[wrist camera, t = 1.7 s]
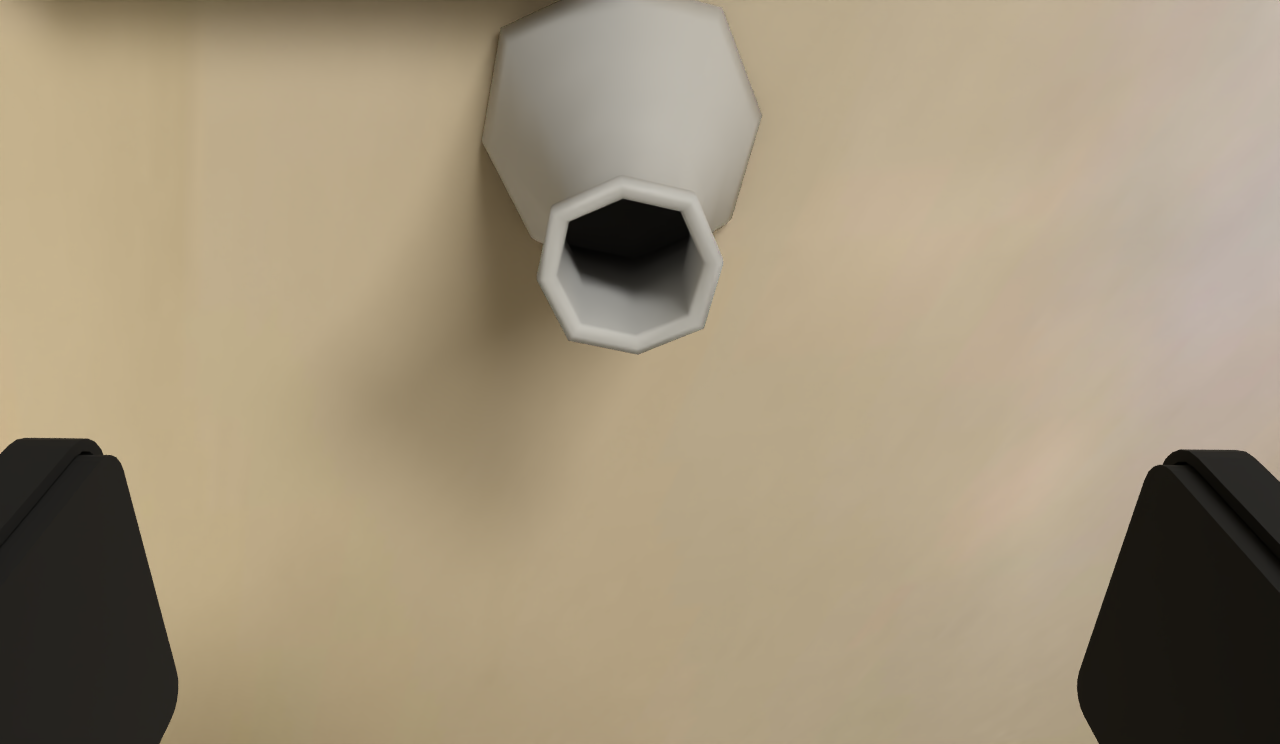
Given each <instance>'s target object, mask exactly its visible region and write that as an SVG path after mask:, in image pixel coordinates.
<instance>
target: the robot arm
mask: <svg viewBox="0 0 1280 744" xmlns="http://www.w3.org/2000/svg"><path fill="white" fill-rule="evenodd" d="M1077 692H1078V699H1079V703H1080V707H1081V710H1082V712H1083V715H1084V717H1085V719H1086V720H1087V722H1088V724H1089V726H1090V728H1091V730H1092V732H1093V733H1094V735H1095V737H1096V739H1097V741H1098V743H1099V744H1280V482H1279V481H1278V480H1277V479H1276V478H1275V477H1274V476H1273V475H1272V474H1271V473H1270V472H1269V471H1268V470H1267V469H1266V468H1265V467H1264V466H1263V465H1262V464H1261V463H1260V462H1258V461H1257V460H1256V459H1255V458H1254V457H1253V456H1251V455H1250V454H1248V453H1247V452H1244V451H1238V450H1178V451H1175V452H1172V453H1171V454H1170V455H1169V456H1168V457H1167V458H1166V459H1165V461H1164V463H1163V465H1157V466H1155V467H1153V468H1152V469H1151V470H1150V471H1149V472H1148V474H1147V476H1146V478H1145V480H1144V483H1143V486H1142V489H1141V492H1140V495H1139V498H1138V501H1137V504H1136V506H1135V509H1134V512H1133V515H1132V518H1131V521H1130V524H1129V527H1128V530H1127V533H1126V536H1125V539H1124V542H1123V545H1122V548H1121V550H1120V553H1119V556H1118V559H1117V562H1116V565H1115V568H1114V571H1113V574H1112V577H1111V580H1110V583H1109V586H1108V589H1107V592H1106V595H1105V597H1104V600H1103V603H1102V606H1101V609H1100V612H1099V615H1098V618H1097V621H1096V624H1095V627H1094V630H1093V633H1092V636H1091V639H1090V641H1089V644H1088V647H1087V650H1086V653H1085V656H1084V659H1083V662H1082V665H1081V668H1080V671H1079V675H1078V680H1077ZM177 696H178V676H177V671H176V667H175V663H174V660H173V656H172V652H171V648H170V644H169V641H168V637H167V633H166V629H165V625H164V622H163V618H162V614H161V610H160V607H159V603H158V599H157V595H156V591H155V588H154V584H153V580H152V576H151V572H150V569H149V565H148V561H147V557H146V553H145V550H144V546H143V542H142V538H141V535H140V531H139V527H138V523H137V519H136V516H135V512H134V508H133V504H132V500H131V497H130V493H129V489H128V485H127V482H126V478H125V474H124V470H123V468H122V465H121V463H120V462H119V460H118V459H117V458H116V457H114V456H112V455H103V453H102V450H101V448H100V447H99V446H98V445H97V444H96V442H94V441H92V440H90V439H74V438H23V439H17V440H16V441H14V442H13V443H11V444H10V445H9V446H8V447H7V448H6V449H5V450H4V451H3V452H2V453H1V454H0V744H159V743H160V741H161V739H162V737H163V735H164V733H165V731H166V729H167V727H168V725H169V722H170V720H171V718H172V716H173V713H174V710H175V706H176V702H177Z"/></svg>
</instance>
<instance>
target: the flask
mask: <svg viewBox="0 0 1280 744" xmlns="http://www.w3.org/2000/svg"><path fill="white" fill-rule="evenodd" d="M761 118H762V114H761V111H760V108H759V106H758V103H757V100H756V97H755V95H754V92H753V89H752V87H751V84H750V81H749V79H748V76H747V73H746V70H745V68H744V65H743V62H742V60H741V57H740V54H739V51H738V49H737V46H736V43H735V41H734V38H733V35H732V32H731V30H730V27H729V24H728V22H727V19H726V16H725V14H724V11H723V8H722V7H719V6H715V5H711V4H707V3H703V2H699V1H695V0H560V1H558V2H556V3H554V4H551V5H549V6H547V7H545V8H543V9H541V10H539V11H536V12H534V13H532V14H530V15H528V16H526V17H524V18H521V19H519V20H517V21H515V22H513V23H511V24H509V25H506V26H504V27H502V28H501V30H500V36H499V42H498V48H497V53H496V59H495V65H494V71H493V77H492V83H491V89H490V95H489V101H488V107H487V113H486V119H485V125H484V131H483V137H482V143H483V145H484V147H485V149H486V151H487V153H488V155H489V156H490V158H491V160H492V162H493V164H494V166H495V168H496V170H497V172H498V174H499V176H500V178H501V180H502V182H503V184H504V186H505V188H506V190H507V192H508V194H509V195H510V197H511V199H512V201H513V203H514V205H515V207H516V209H517V211H518V213H519V215H520V217H521V219H522V221H523V223H524V225H525V227H526V229H527V231H528V233H529V234H530V236H531V238H533V239H534V240H536V241H538V242H540V243H542V244H543V248H542V253H541V258H540V262H539V267H538V272H537V281H538V283H539V285H540V287H541V289H542V291H543V293H544V295H545V297H546V298H547V300H548V302H549V304H550V306H551V308H552V310H553V312H554V314H555V316H556V318H557V320H558V321H559V323H560V325H561V327H562V329H563V331H564V333H565V335H566V337H567V339H568V341H573V342H578V343H583V344H588V345H593V346H598V347H603V348H608V349H613V350H618V351H623V352H628V353H633V354H641V353H643V352H646V351H648V350H651V349H653V348H656V347H658V346H661V345H663V344H666V343H668V342H671V341H673V340H676V339H678V338H681V337H683V336H686V335H688V334H691V333H693V332H696V331H698V330H701V329H703V328H704V326H705V323H706V319H707V316H708V313H709V309H710V306H711V303H712V299H713V296H714V293H715V289H716V286H717V283H718V279H719V276H720V273H721V269H722V266H723V257H722V255H721V253H720V250H719V248H718V246H717V243H716V241H715V238H714V236H713V234H712V232H713V231H715V230H716V229H718V228H720V227H721V226H723V225H725V224H726V223H727V222H729V221H730V220H731V218H732V215H733V212H734V208H735V205H736V202H737V198H738V195H739V192H740V188H741V185H742V181H743V178H744V175H745V171H746V168H747V165H748V161H749V158H750V155H751V151H752V148H753V144H754V141H755V138H756V134H757V131H758V128H759V124H760V121H761Z"/></svg>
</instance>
